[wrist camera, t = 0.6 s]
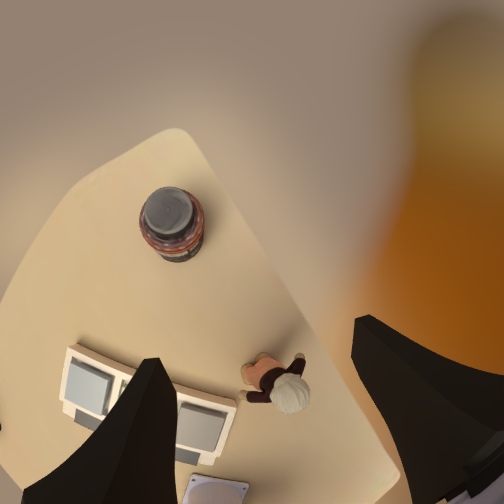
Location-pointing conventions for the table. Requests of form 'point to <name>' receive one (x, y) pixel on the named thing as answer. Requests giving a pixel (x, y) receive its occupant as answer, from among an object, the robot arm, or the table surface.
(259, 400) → the grandmother figurine
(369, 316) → the robot arm
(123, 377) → the keypad
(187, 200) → the supplement bottle
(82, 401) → the slate key
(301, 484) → the table surface
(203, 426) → the grey key
